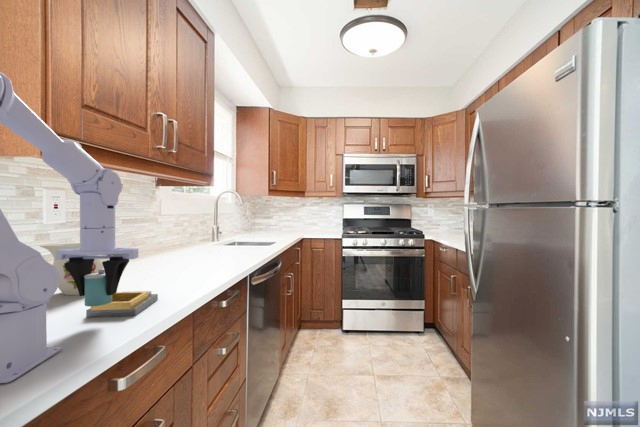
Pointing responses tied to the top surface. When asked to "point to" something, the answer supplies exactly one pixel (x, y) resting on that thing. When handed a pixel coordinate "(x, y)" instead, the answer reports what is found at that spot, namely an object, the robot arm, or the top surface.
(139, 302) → the gray yellow rectangular tray
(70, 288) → the pitcher
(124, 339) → the top surface
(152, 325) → the top surface
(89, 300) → the spout can
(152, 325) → the top surface
